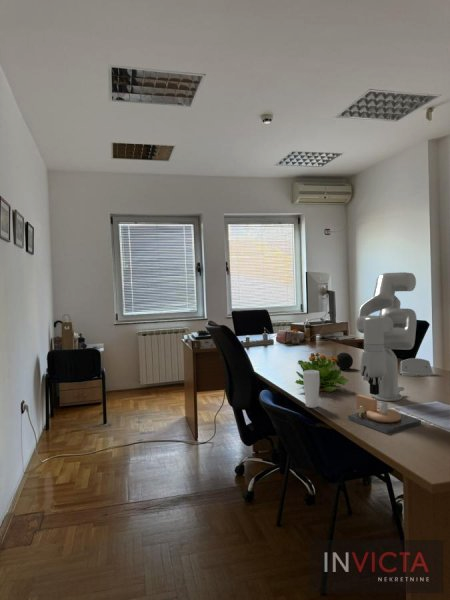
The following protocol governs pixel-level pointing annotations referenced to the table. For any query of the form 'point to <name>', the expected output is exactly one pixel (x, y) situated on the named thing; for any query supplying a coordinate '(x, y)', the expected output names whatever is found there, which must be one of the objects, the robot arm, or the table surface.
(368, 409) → the wooden lever dial
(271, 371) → the table surface
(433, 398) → the table surface
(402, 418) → the base plate
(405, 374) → the white arched block
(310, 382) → the drinking glass
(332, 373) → the potted flower
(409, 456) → the table surface
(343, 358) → the decorative ball
